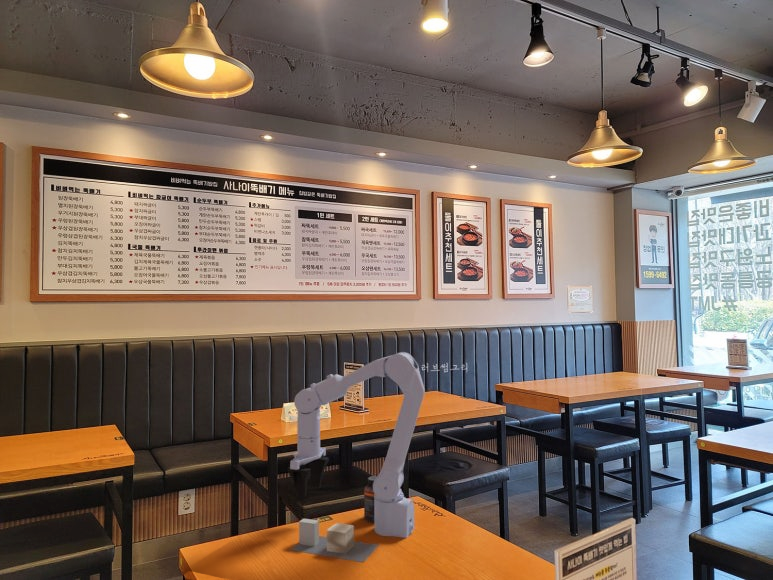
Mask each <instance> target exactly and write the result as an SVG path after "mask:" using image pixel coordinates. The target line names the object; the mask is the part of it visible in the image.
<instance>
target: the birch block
mask: <svg viewBox="0 0 773 580" xmlns="http://www.w3.org/2000/svg"><path fill="white" fill-rule="evenodd" d="M354 530H355V526H354V525H352V524H345V523H340V522H336V523H334V524H333V525H332V526H330V527H328V528H327V529H326V537H327V551H329V552H336V553H342V554H346V553H347V552H348V551H349V550H350V549H351V548H352V547H353V546H354V540H355V535H354V534H355V533H354V532H355V531H354Z"/></svg>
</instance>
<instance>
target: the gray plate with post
mask: <svg viewBox="0 0 773 580" xmlns="http://www.w3.org/2000/svg"><path fill="white" fill-rule="evenodd" d="M319 521H320V520H316V519H310V518H302V519H301V520H299V522H298V523H299V525H298V529H299V531H298V532H299V534H298V536H299V537H298V538H299V539H298V541H299V542H297V543H296V544H295V545H293V546H292V547H291V548H289V551H293V552H298V553H305V554H310V555H311V554H312V555H316V556H324V557H329V558H335V559H340V560H345V561H353V562H359V563H364V562H365V561H366V560H367V559H368V558H369V557H370V556H371V555H372V553H374V552H375V550H376V549H377V548H378V547H379V546H380V544H373V543H367V542H360V541H354V546H353V547H352V548H351V549H350V550H349V551H348V552H347V553H346V554H342V553H336V552H329V551H327V536H321V535H320V522H319Z"/></svg>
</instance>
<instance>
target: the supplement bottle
mask: <svg viewBox="0 0 773 580" xmlns="http://www.w3.org/2000/svg"><path fill="white" fill-rule="evenodd" d="M377 477H378V475H372V476H369V477H367V485H365V487H364V491H363V492H364V493H363V500H364V501H363V505H364V506H363V507H364V508H363V511H364V512H363V513H364V514H363V515H364V519H363V520H364V521H366V522H368V523H374V495H375V494H374V491H373V483H374V480H375V479H376V478H377ZM374 524H375V523H374Z"/></svg>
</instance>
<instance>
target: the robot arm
mask: <svg viewBox="0 0 773 580" xmlns="http://www.w3.org/2000/svg"><path fill="white" fill-rule="evenodd" d="M419 367H420V366H419V364H418V362H417V361H416V359H415V358H414V357H413V356H412V355H411V354H410V353H408V352H405V351H401V352H397V353H395V354H392V355H388V356H385V357H382V358H379V359H375V360H373V361H371V362H369V363H367V364H365V365H364V366H361V367H360V368H357V369H355V370H353V371H352V372H350V373H348V374H346V375H344V376H343V375H340V374H337V373H336V374H332V373H331V374H328V375H326V378H325V379H324V380H322V381H320V382H317V383H315V382H313V383H311V384H309V385H310V386H309V387H308V388H305V389H304V388H303V389H301V390H300V391H299V392H298V393H297V394H296V395H295V397H294V402H293V404H294V407H295V409H296V410H297V423H296V425H297V426H296V427H297V432H296V433H297V434H296V435H297V440H296V443H297V446H296V447H297V451H296V452H294V453H293V457H294V458H293V459H291V460H290V462H289V463H290V464H289V466H287V472H288V474H289V475H290V477H291V480H292V482H293V486H294V489H295V490H294V491H295V495H296V497H302V498H305V497H306V496H307V488H308V480H309V476H310V482H311V487H312V488H319V489H320V488H321V486H322V481H323V478H324V477H323V476H324V472H325V471H326V468H327V465H328V463H329V461H330V459H329V457H328V456H326V454H327V453H326V452H327V451H326V450H327V448H326V447H321V412H320V411H321V406H325V405H328V404H329V403H332V402H334V401H337V400H338V399H341V398H342V397H344V396H346V395H347V393H348V390H349V388H351V387H353V386H355V385H357V384H360V383H361V382H362V383H363V382H364V381H367V380H369V379H371V378H373V377H381V378H386V377H388V378H390V380H392V381H393V382H394V383H396V384H397V385H398V388H399V389H400V390H401V392H402V393H403V398H402V403H401V405H400V409H399V412H398V416H397V419H396V422H395V426H394V430H393V433H392V436H391V440H390V443H389V445H388V449H387V453H386V455H385V456H386V457H385V459H384V461H383V464H382V467H381V469H380V470H379V471H380V472H379V474H378V475H377V476H378V477H377V478H376V479H375V480H374V483H373V491H374V494H375V495H374V533H375V534H377V535H379V536H385V537H399V538H404V539H407V538H408V537H409V536H410V535H411V534H412V533H413V531H414V530H415V504H414V501H413V499H410V498H406V496H405V495H404V493H403V491H402V488H401V487H402V486H403V484H404V479H405V476H404V475H405V474H404V467H405V462H406V458H407V454H408V451H409V447H410V444H411V442H412V441H411V440H412V437H413V434H414V431H415V428H416V423H417V421H418V418H419V414H420V410H421V406H422V403H423V401H424V396H425V393H426V389H425V385H424V382H423V379H422V375H421V372H420V368H419ZM306 464H307V465H308V467H309V468H307V467H306V466H305V465H306Z"/></svg>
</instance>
